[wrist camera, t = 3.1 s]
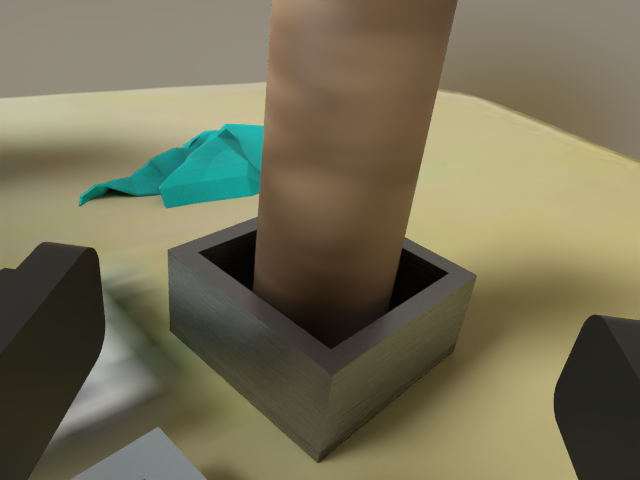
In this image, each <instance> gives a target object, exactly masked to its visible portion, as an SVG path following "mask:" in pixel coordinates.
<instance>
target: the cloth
mask: <svg viewBox="0 0 640 480" xmlns="http://www.w3.org/2000/svg"><path fill="white" fill-rule="evenodd" d="M263 133H264V126H257V125H244V124H225V125H224V126H223V127H222V128H221V129H220V130H211V131H204V132H203V133H201V134H199V135H198V136H196V137H194V138H193V139H191V141H189V142H188V143H186V144H184V145H183V148H173V149H171V150H169V151H167V152H165V153H163V154H161V155H159V156H157V157H155V158H153V159H151V160H150V161H149V162H148V163H146V164H145V165H144V166H143V167H141V168H140V169H139V170H138V171H137V172H135V173H134V174H133V175H132V176H131V177H128V178H121V179H115V180H112V181H109V182H106V183H102V184H97V185H94V186H93V187H91V188H90V189H89V190H88V191H86V192H85V193H84V194H83V195H81V196H80V202H79V206H82V205H83V204H85V203H86V202H88V201H89V200H91V199H92V198H94V197H97V196H100V195H104V194H105V193H106V192H107V191H108V190H109V189H110V188H112V189H115V190H118V191H122V192H125V193H128V194H132V195H135V196H153V195H161V196H162V199H163V202H164V205H165V207H166V208H171V207H177V206H184V205H189V204H194V203H202V202H209V201H217V200H225V199H233V198H240V197H248V196H253V195H256V194H258V193H260V178H261V163H262V148H263Z"/></svg>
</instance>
